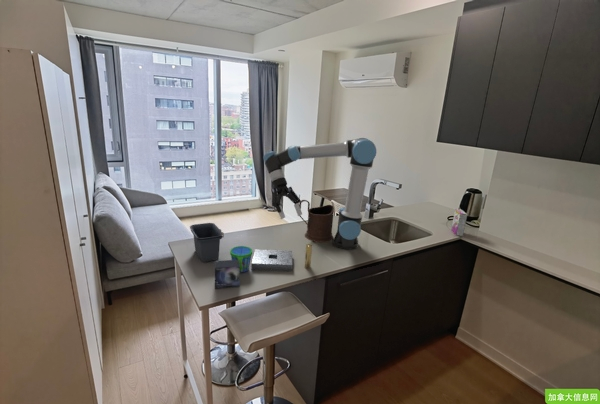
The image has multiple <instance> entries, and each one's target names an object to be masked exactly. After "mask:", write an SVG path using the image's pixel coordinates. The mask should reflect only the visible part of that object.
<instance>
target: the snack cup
mask: <svg viewBox="0 0 600 404" xmlns="http://www.w3.org/2000/svg"><path fill="white" fill-rule="evenodd" d="M252 254H253V249H252V248H251V247H249V246H246V245H238V246H234V247H232V248H231V249H230V250H229V255H230V257H231V260H239V265H240V273H241V274H242V273H246V272H248V271H249V269H250V265H251V261H252V260H251V259H252Z"/></svg>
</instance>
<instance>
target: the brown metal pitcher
mask: <svg viewBox="0 0 600 404" xmlns="http://www.w3.org/2000/svg"><path fill="white" fill-rule="evenodd" d="M300 200H301V199H300ZM303 202H307V216H308V217H307V221H306V219H304V218H303V217H302V215H300V216H299V217H300V219H301V220H302V221H303V222H304V223H305V224H306V225H307V226H306V227H307V228H306V232H305V234H304V238H306V240H308V241H311V242H316V243H328V242H331V241H332V240H334V236H333V232H332V231H333V222H334V212H335V207H334V206H333V205H331V204H326V205H323V206H317V207H315V206H314V207H311V208H310V206H311V205H310V204H311V203H310V201H309V200H306V199H302V200H301V201H300V202H299V205H300V209H301V210H302V203H303Z"/></svg>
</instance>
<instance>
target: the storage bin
mask: <svg viewBox="0 0 600 404" xmlns="http://www.w3.org/2000/svg"><path fill="white" fill-rule="evenodd" d="M189 229H190V231H191V233H192V235H193V241H194V242H193V243H194V249H195V250H194V251H195V252H196V254H197V255H198V258H199V259H200V261H201V262H202V263H206V262H210V261H215V260H216V261H218V260H219V258H220V245H221V244H220V243H221V240H222V239H223V238H224V236H225V235H224V232H223V231H222V229H220V228H219V227H218V226H217V225H216V223H214V222H206V223H205V222H203V223H197V224H191V225H190V226H189Z"/></svg>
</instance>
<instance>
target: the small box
mask: <svg viewBox="0 0 600 404" xmlns="http://www.w3.org/2000/svg"><path fill="white" fill-rule="evenodd" d="M237 287H238V288H239V287H240V265H239V260H232V259H229V260H227V259H226V260H216V261H215V260H214V288H215V289H216V290H217V289H225V288H230V289H231V288H237Z"/></svg>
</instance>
